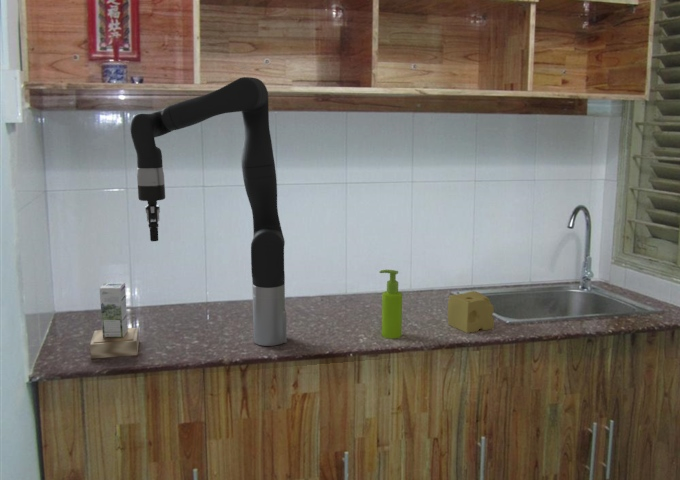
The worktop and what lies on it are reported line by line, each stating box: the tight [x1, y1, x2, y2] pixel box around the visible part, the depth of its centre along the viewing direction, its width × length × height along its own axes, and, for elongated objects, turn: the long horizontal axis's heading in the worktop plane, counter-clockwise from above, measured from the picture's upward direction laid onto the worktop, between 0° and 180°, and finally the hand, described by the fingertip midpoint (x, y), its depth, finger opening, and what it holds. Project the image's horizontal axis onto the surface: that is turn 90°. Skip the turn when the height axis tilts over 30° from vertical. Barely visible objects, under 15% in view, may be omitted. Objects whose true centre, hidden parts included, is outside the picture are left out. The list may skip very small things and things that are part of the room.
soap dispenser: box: [379, 269, 403, 340], centre depth 201 cm, size 6×7×20 cm
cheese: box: [447, 290, 495, 334], centre depth 210 cm, size 10×11×10 cm
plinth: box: [89, 327, 140, 360], centre depth 189 cm, size 12×12×4 cm
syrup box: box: [99, 282, 129, 338], centre depth 187 cm, size 6×6×14 cm
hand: (154, 238), depth 197 cm, fingers open, 8 cm apart
